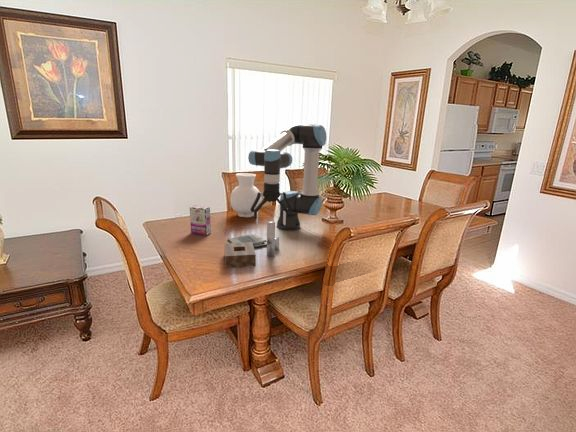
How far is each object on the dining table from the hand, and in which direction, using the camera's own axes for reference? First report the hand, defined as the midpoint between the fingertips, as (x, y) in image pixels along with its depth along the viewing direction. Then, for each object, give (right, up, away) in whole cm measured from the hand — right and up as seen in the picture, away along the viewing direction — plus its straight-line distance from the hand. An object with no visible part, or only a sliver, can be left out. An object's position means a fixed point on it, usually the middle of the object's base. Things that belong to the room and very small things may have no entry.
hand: (270, 224), depth 165 cm
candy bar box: (-44, -6, +34) cm, 56 cm away
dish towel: (-14, -12, +21) cm, 28 cm away
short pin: (+2, -13, +14) cm, 20 cm away
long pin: (0, -16, +5) cm, 17 cm away
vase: (-21, +4, +71) cm, 74 cm away
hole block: (-15, -17, -1) cm, 23 cm away
